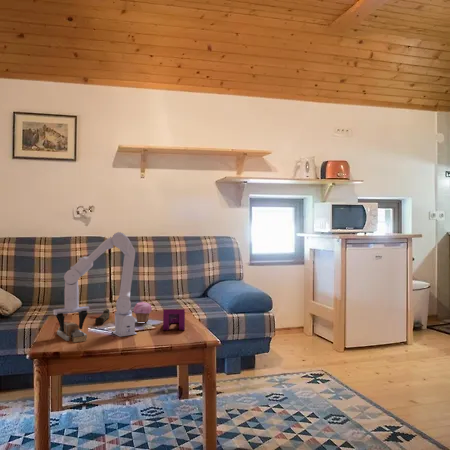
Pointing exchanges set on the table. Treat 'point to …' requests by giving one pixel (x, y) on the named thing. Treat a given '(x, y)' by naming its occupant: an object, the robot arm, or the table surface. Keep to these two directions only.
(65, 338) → the cradle
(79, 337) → the near shaft stub
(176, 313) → the mounting bracket
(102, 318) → the dark brown rough bar
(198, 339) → the table surface
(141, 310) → the cupcake
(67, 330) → the block
